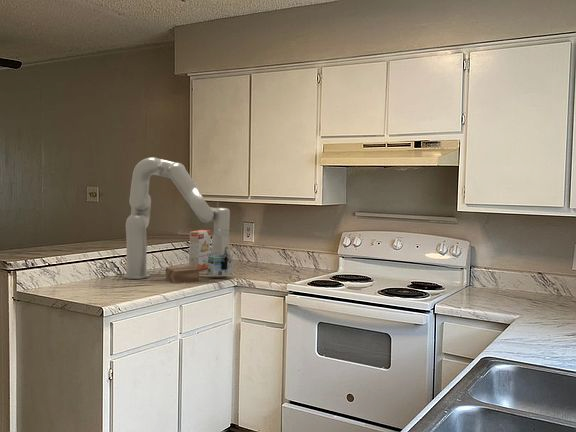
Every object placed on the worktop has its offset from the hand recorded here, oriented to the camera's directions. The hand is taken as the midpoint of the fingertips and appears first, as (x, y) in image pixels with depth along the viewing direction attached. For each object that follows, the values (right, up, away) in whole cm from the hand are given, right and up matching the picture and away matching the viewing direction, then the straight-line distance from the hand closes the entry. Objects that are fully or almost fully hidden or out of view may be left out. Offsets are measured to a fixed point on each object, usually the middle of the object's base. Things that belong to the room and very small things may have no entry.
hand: (219, 268), depth 298 cm
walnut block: (-17, -5, -9) cm, 20 cm away
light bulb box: (0, -4, 0) cm, 4 cm away
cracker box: (-14, -3, +27) cm, 31 cm away
